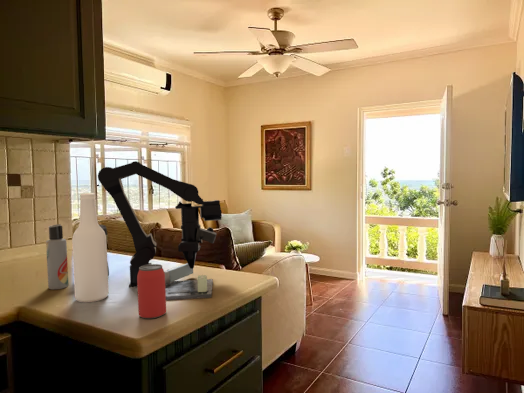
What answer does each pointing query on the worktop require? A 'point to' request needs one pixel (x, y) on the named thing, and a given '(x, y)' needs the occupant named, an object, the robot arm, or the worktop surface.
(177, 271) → the door
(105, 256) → the alcohol
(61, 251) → the lotion bottle
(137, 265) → the robot arm
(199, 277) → the fader knob
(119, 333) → the worktop surface
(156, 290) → the beer can
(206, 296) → the console
